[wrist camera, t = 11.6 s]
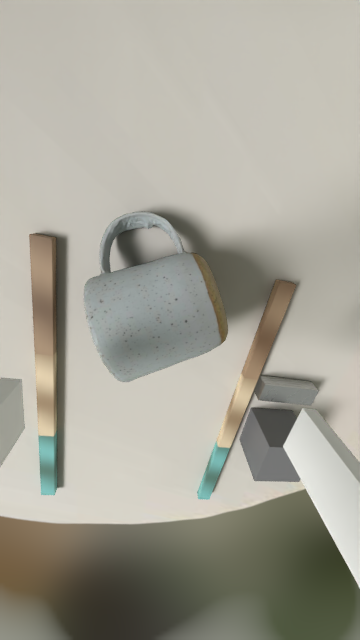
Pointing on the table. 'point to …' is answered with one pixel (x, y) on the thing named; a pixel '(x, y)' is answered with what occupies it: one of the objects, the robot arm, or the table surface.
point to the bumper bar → (285, 390)
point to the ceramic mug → (152, 306)
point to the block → (268, 444)
